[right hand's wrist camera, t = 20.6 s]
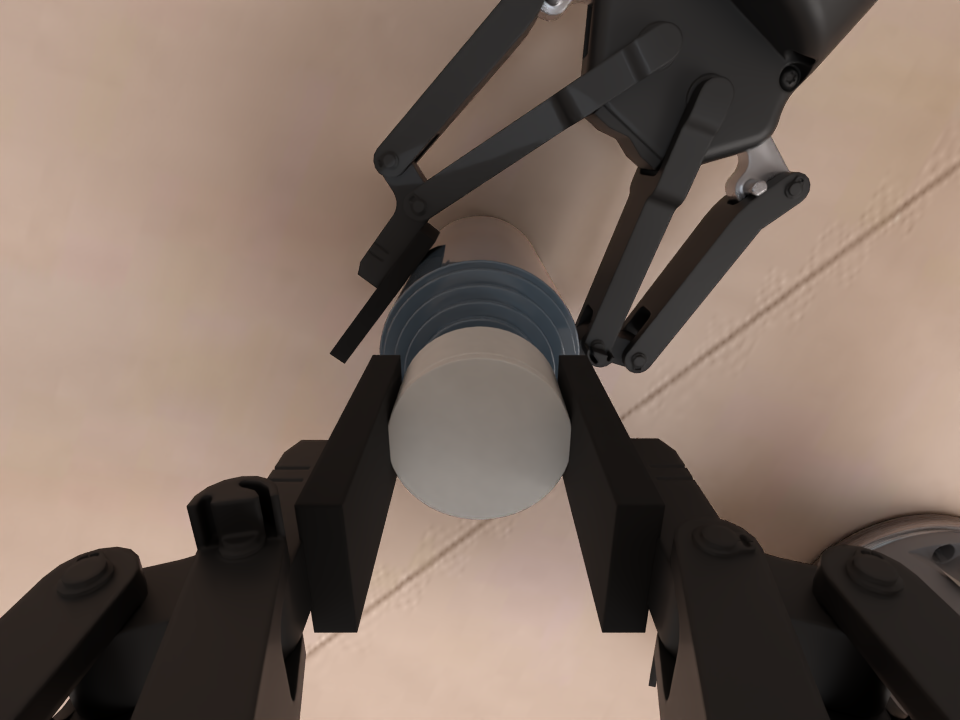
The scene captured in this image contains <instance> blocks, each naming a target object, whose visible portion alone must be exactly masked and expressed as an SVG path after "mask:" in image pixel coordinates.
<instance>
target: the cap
mask: <svg viewBox="0 0 960 720" xmlns="http://www.w3.org/2000/svg"><path fill="white" fill-rule="evenodd" d="M388 431H389V445H390V458H391V463H392V466H393V468H394V470H395V472H396V474H397V476H398V478H399V479H400V481H401V482H402V483H403V485H404V486H405V487H406V488H407V489H408V490H409V491H410V493H411V494H413V495H414V496H415V497H416V498H417V499H419V500H420V501H421V502H423V503H424V504H426V505H427V506H429V507H431V508H433V509H435V510H437V511H439V512H442V513H445V514H447V515H450V516H454V517H459V518H465V519H475V520H485V519H495V518H501V517H506V516H509V515H512V514H515V513H518V512H520V511H522V510H525V509H527V508H529V507H530V506H532V505H534V504H535V503H537V502H538V501H540V500H541V499H542V498H544V497H545V496H546V495H547V494H548V493H549V492H550V491H551V490H552V489H553V488H554V486H555V485H556V484H557V483H558V481H559V480H560V478H561V477H562V475H563V473H564V472H565V469H566V467H567V465H568V462H569V451H570V437H571V422H570V418H569V415H568V412H567V409H566V406H565V403H564V400H563V397H562V394H561V391H560V388H559V385H558V382H557V379H556V376H555V374H554V371H553V369H552V367H551V365H550V364H549V362H548V361H547V359H546V358H545V357H544V355H543V354H542V353H541V352H540V351H539V350H538V349H537V348H536V347H535V346H534V345H532V344H531V343H530V342H528V341H527V340H525V339H524V338H522V337H520V336H518V335H516V334H514V333H511V332H509V331H505V330H502V329H498V328H492V327H481V326H480V327H478V326H477V327H467V328H462V329H457V330H454V331H451V332H448V333H446V334H443V335H442V336H440V337H438V338H436V339H434V340H433V341H431V342H430V343H428V344H427V345H426V346H425V347H424V348H423V349H422V350H420V351H419V353H418V354H417V355H416V356H415V357H414V359H413V360H412V362H411V363H410V365H409V366H408V368H407V370H406V373H405V375H404V378H403V381H402V383H401V386H400V389H399V392H398V395H397V398H396V401H395V404H394V407H393V410H392V413H391V416H390V420H389V424H388Z"/></svg>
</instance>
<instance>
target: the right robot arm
mask: <svg viewBox="0 0 960 720" xmlns="http://www.w3.org/2000/svg"><path fill="white" fill-rule="evenodd" d="M557 382H558V385H559V388H560V391H561V394H562V397H563V400H564V403H565V406H566V409H567V412H568V415H569V418H570V422H571V437H570V451H569V462H568V465H567V467H566V469H565V472H564V473H563V475H562V476H563V480H564V484H565V488H566V492H567V496H568V500H569V503H570V507H571V511H572V515H573V519H574V523H575V527H576V531H577V535H578V539H579V543H580V547H581V551H582V555H583V559H584V563H585V566H586V570H587V574H588V578H589V582H590V586H591V590H592V594H593V598H594V602H595V606H596V610H597V614H598V618H599V622H600V626H601V629H602V633H645V630H646V624H647V617H648V611H649V610H650V613H651V615H652V618H653V621H654V624H655V626H656V629H657V632H658V633H657V638H656V644H655V650H654V656H653V662H652V668H651V674H650V680H649V686H652V687H656V681H657V689H658V699H659V709H660V720H960V615H959V614H958V613H957V612H955V611H954V610H953V609H952V608H951V607H950V606H949V605H948V604H947V603H946V602H945V601H944V600H943V599H942V598H941V597H940V596H939V595H937V594H936V593H935V592H934V591H933V590H932V589H931V588H930V587H929V586H928V585H927V584H926V583H925V582H924V581H923V580H922V579H920V578H919V577H918V576H917V575H916V574H915V573H913V572H912V571H911V570H909V569H908V568H907V567H905V566H904V565H903V564H901V563H900V562H898V561H896V560H894V559H892V558H890V557H888V556H886V555H884V554H882V553H880V552H877V551H874V550H870V549H867V548H864V547H861V546H852V545H837V546H831V547H828V548H827V549H826V550H825V551H824V552H823V553H821V556H820V560H819V563H818V566H815V565H810V564H806V563H801V562H797V561H792V560H788V559H783V558H779V557H775V556H772V555H768V554H765V553H764V552H763V549H762V548H761V546H760V545H759V543H758V542H757V540H756V539H755V538H754V537H753V536H752V535H751V534H749V533H748V532H747V531H745V530H744V529H743V528H741V527H739V526H737V525H735V524H733V523H731V522H728V521H726V520H722V519H720V518H719V517H718V515H717V514H716V512H715V511H714V509H713V508H712V506H711V504H710V503H709V501H708V500H707V498H706V497H705V495H704V494H703V492H702V491H701V489H700V488H699V486H698V485H697V483H696V482H695V480H693V479H692V475H691V474H690V472H689V471H688V469H687V468H685V465H684V463H683V462H682V460H681V459H680V457H679V456H678V454H677V452H676V451H675V450H674V449H672V448H671V447H669V446H668V445H667V444H665V443H664V442H662V441H661V440H660V439H656V438H630V437H629V435H628V433H627V431H626V429H625V427H624V426H623V424H622V422H621V420H620V418H619V416H618V414H617V412H616V410H615V408H614V406H613V405H612V403H611V401H610V399H609V397H608V395H607V393H606V391H605V389H604V387H603V385H602V384H601V382H600V380H599V378H598V376H597V374H596V372H595V370H594V368H593V366H592V364H591V363H590V361H589V359H588V357H587V355H559V363H558V379H557ZM401 383H402V372H401V356H400V355H373V356H372V358H371V360H370V361H369V363H368V365H367V367H366V369H365V371H364V373H363V375H362V377H361V379H360V380H359V382H358V384H357V386H356V388H355V390H354V392H353V394H352V396H351V398H350V400H349V401H348V403H347V405H346V407H345V409H344V411H343V413H342V415H341V417H340V419H339V421H338V422H337V424H336V426H335V428H334V430H333V432H332V434H331V436H330V438H329V440H301V441H300V442H298V443H297V444H295V445H294V446H293V447H291V448H290V449H288V450H287V451H286V452H284V454H283V455H282V457H281V458H280V460H279V461H278V463H277V464H276V466H275V470H273V471H272V472H271V474H270V475H269V477H268V478H267V479H266V478H263V477H259V476H241V477H236V478H232V479H227V480H224V481H221V482H219V483H216V484H214V485H211V486H209V487H207V488H206V489H204V490H203V491H201V492H200V493H199V494H197V495H196V496H194V498H193V499H192V500H191V502H190V503H189V504H188V505H187V510H188V514H189V518H190V522H191V526H192V530H193V534H194V538H195V542H196V546H197V549H198V550H197V552H196V555H195V556H192V557H188V558H185V559H181V560H177V561H173V562H168V563H164V564H159V565H155V566H150V567H146V568H142V565H141V562H140V559H139V556H138V555H137V554H136V553H135V552H133V551H132V550H131V549H127V548H121V547H111V548H102V549H97V550H94V551H90V552H87V553H84V554H81V555H79V556H77V557H75V558H73V559H71V560H69V561H67V562H65V563H63V564H61V565H59V566H58V567H56V568H55V569H54V570H53V571H51V572H50V573H49V574H47V575H46V576H45V577H43V578H42V579H41V580H40V581H39V582H38V583H37V584H36V585H35V586H34V587H33V588H32V589H31V590H30V591H29V592H27V593H26V594H25V595H24V596H23V597H22V598H21V599H20V600H19V601H18V602H17V603H16V604H15V605H14V606H13V607H12V608H11V609H10V610H9V611H7V612H6V613H5V614H4V615H3V616H2V617H1V618H0V720H300V711H301V700H302V690H303V680H304V669H305V659H306V651H305V645H304V638H303V630H304V627H305V625H306V622H307V619H308V616H309V614H310V611H311V615H312V621H313V627H314V633H352V632H357V631H358V627H359V623H360V619H361V615H362V611H363V607H364V604H365V600H366V596H367V592H368V588H369V584H370V580H371V576H372V572H373V568H374V564H375V560H376V556H377V552H378V548H379V545H380V541H381V537H382V533H383V529H384V525H385V521H386V517H387V513H388V509H389V505H390V501H391V497H392V493H393V489H394V486H395V482H396V478H397V474H396V472H395V470H394V468H393V466H392V463H391V458H390V445H389V431H388V424H389V420H390V416H391V413H392V410H393V407H394V404H395V401H396V398H397V395H398V392H399V389H400V386H401ZM891 693H892V695H893V696H894V697H895V699H896V700H897V701H898V702H899V704H900V705H901V706H902V707H903V709H904V710H905V711H906V713H907V714H908V715H906V714H905V713H904V712H903V711H902V710H901V709H900V708H899V707H898V706H897V704H896V703H895V702H894V700H893V699H892V698H891V697H890V695H891ZM68 696H69V697H70V699H69V700H68V701H67V703H66V704H65V705H64V707H63V708H62V709H61V710H60V711H59V712H58V713H57V714H56V715H55V716H54V714H55V713H56V712H57V710H58V709H59V708H60V707H61V705H62V704H63V703H64V701H65V700H66V699H67V698H68ZM53 716H54V717H53ZM52 717H53V718H52Z"/></svg>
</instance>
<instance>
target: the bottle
mask: <svg viewBox="0 0 960 720" xmlns="http://www.w3.org/2000/svg"><path fill="white" fill-rule="evenodd" d="M439 232H440V234H439V236H438V238H437V240H436V242H435V243H434V245H433V246H432V247H431V249H430V250H429V251H428V253H427V254H426V255H425V257H424V258H423V259H422V261H421V262H420V263H419V265H418V266H417V267H416V269H415V270H414V271H413V273H412V274H411V275H410V277H409V279H408V281H407V282H406V284H405V286H404V288H403V289H402V291H401V293H400V295H399V297H398V298H397V300H396V302H395V304H394V305H393V307H392V309H391V311H390V313H389V315H388V317H387V319H386V322H385V324H384V328H383V331H382V335H381V342H380V355H400V356H401V372H402V381H403V378H404V375H405V373H406V370H407V368H408V366H409V365H410V363H411V362H412V360H413V359H414V357H415V356H416V355H417V354H418V353H419V351H420V350H422V349H423V348H424V347H425V346H426V345H427V344H428V343H430V342H431V341H433V340H434V339H436V338H438V337H440V336H442V335H443V334H446V333H448V332H451V331H454V330H457V329H462V328H467V327H477V326H478V327H480V326H481V327H492V328H498V329H502V330H505V331H509V332H511V333H514V334H516V335H518V336H520V337H522V338H524V339H525V340H527V341H528V342H530V343H531V344H532V345H534V346H535V347H536V348H537V349H538V350H539V351H540V352H541V353H542V354H543V355H544V357H545V358H546V359H547V361H548V362H549V364H550V365H551V367H552V369H553V371H554V374H555V376H556V379H558V363H559V355H580V345H579V338H578V333H577V329H576V326H575V323H574V320H573V318H572V316H571V314H570V312H569V310H568V308H567V306H566V304H565V303H564V301H563V299H562V297H561V296H560V294H559V292H558V290H557V288H556V287H555V285H554V283H553V281H552V280H551V278H550V276H549V274H548V272H547V271H546V269H545V267H544V265H543V264H542V262H541V260H540V258H539V256H538V255H537V253H536V251H535V249H534V248H533V246H532V244H531V243H530V241H529V240H528V239H527V237H526V236H525V235H524V234H523V233H522V232H521V231H520V230H519V229H517V228H516V227H515V226H513V225H512V224H510V223H508V222H506V221H504V220H501V219H498V218H495V217H490V216H470V217H465V218H461V219H459V220H456V221H454V222H452V223H450V224H448V225H446V226H445V227H444V228H442V229H441V230H440V231H439Z"/></svg>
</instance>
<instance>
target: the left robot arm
mask: <svg viewBox="0 0 960 720" xmlns="http://www.w3.org/2000/svg"><path fill="white" fill-rule="evenodd" d="M877 1H878V0H501V1H500V2H499V4H498V5H497V6H496V7H495V8H494V10H493V11H492V12H491V13H490V14H489V16H488V17H487V18H486V19H485V20H484V22H483V23H482V24H481V25H480V26H479V28H478V29H477V30H476V31H475V32H474V34H473V35H472V36H471V37H470V38H469V40H468V41H467V42H466V43H465V44H464V46H463V47H462V48H461V49H460V50H459V51H458V53H457V54H456V55H455V56H454V57H453V59H452V60H451V61H450V62H449V63H448V65H447V66H446V67H445V68H444V69H443V71H442V72H441V73H440V74H439V75H438V77H437V78H436V79H435V80H434V81H433V83H432V84H431V85H430V86H429V87H428V89H427V90H426V91H425V92H424V93H423V95H422V96H421V97H420V98H419V99H418V101H417V102H416V103H415V104H414V105H413V106H412V108H411V109H410V110H409V111H408V112H407V114H406V115H405V116H404V117H403V118H402V120H401V121H400V122H399V123H398V124H397V126H396V127H395V128H394V129H393V130H392V132H391V133H390V134H389V135H388V136H387V138H386V139H385V140H384V141H383V142H382V144H381V145H380V146H379V147H378V148H377V150H376V152H375V154H374V165H375V168H376V169H377V171H378V172H379V173H380V174H381V175H383V177H384V178H385V180H386V181H387V183H388V184H389V186H390V187H391V189H392V190H393V192H394V194H395V197H396V201H397V206H396V210H395V213H394V215H393V216H392V218H391V219H390V221H389V222H388V223H387V225H386V226H385V228H384V229H383V230H382V232H381V233H380V235H379V236H378V238H377V239H376V240H375V242H374V243H373V245H372V246H371V247H370V249H369V250H368V252H367V253H366V255H365V256H364V257H363V259H362V260H361V262H360V266H359V271H358V275H360V276H361V277H362V278H364V279H365V280H366V281H368V282H369V283H370V284H372V285H373V286H375V287H376V288H377V289H376V291H375V292H374V293H373V295H372V296H371V297H370V299H369V300H368V302H367V303H366V304H365V306H364V307H363V308H362V310H361V311H360V313H359V314H358V315H357V317H356V318H355V319H354V321H353V322H352V323H351V325H350V326H349V328H348V329H347V330H346V332H345V333H344V334H343V336H342V337H341V339H340V340H339V341H338V343H337V344H336V345H335V347H334V348H333V350H332V351H331V352H330V354H331V355H332V356H334V357H335V358H337V359H338V360H340V361H341V362H343V363H344V364H345V362H346V361H347V360H348V358H349V357H350V356H351V354H352V353H353V352H354V350H355V349H356V348H357V346H358V345H359V344H360V342H361V341H362V340H363V338H364V337H365V336H366V334H367V333H368V332H369V330H370V329H371V328H372V326H373V325H374V324H375V322H376V321H377V320H378V318H379V317H380V316H381V314H382V313H383V312H384V310H385V309H386V308H387V306H388V305H389V304H390V302H391V301H392V300H393V298H394V297H395V296H396V294H397V293H398V292H399V290H400V289H401V288H402V286H403V285H404V284H405V282H406V281H407V279H408V278H409V277H410V275H411V274H412V273H413V271H414V270H415V269H416V267H417V266H418V265H419V263H420V262H421V261H422V259H423V258H424V257H425V255H426V254H427V253H428V251H429V250H430V249H431V247H432V246H433V245H434V243H435V242H436V240H437V238H438V236H439V234H440V232H439V231H438V230H437V229H435V228H434V227H433V226H432V225H430V224H429V223H428V220H429V219H430V218H431V217H433V216H434V215H436V214H437V213H439V212H440V211H442V210H443V209H445V208H446V207H448V206H450V205H451V204H453V203H454V202H456V201H457V200H459V199H460V198H462V197H463V196H465V195H466V194H468V193H469V192H471V191H472V190H474V189H475V188H477V187H478V186H480V185H481V184H483V183H484V182H486V181H488V180H489V179H491V178H492V177H494V176H495V175H497V174H498V173H500V172H501V171H503V170H504V169H506V168H507V167H509V166H510V165H512V164H513V163H515V162H516V161H518V160H519V159H521V158H522V157H524V156H526V155H527V154H529V153H530V152H532V151H533V150H535V149H536V148H538V147H539V146H541V145H542V144H544V143H545V142H547V141H548V140H550V139H551V138H553V137H554V136H556V135H557V134H559V133H560V132H562V131H564V130H565V129H567V128H568V127H570V126H572V125H573V124H575V123H577V122H578V121H580V120H581V119H583V118H586V119H587V120H588V121H589V122H590V123H591V124H592V125H593V126H594V127H595V128H596V129H598V130H599V131H601V132H603V133H605V134H607V135H609V136H611V137H614V138H615V139H616V140H617V141H618V143H619V145H620V146H621V148H622V150H623V151H624V153H625V155H626V156H627V157H628V158H629V159H630V160H631V161H632V162H633V163H634V164H636V165H637V166H638V168H637V170H636V172H635V175H634V177H633V180H632V182H631V186H630V194H629V197H628V200H627V202H626V205H625V207H624V209H623V212H622V214H621V217H620V219H619V221H618V224H617V226H616V229H615V231H614V233H613V236H612V238H611V240H610V243H609V245H608V248H607V250H606V252H605V255H604V257H603V260H602V262H601V264H600V267H599V269H598V271H597V274H596V276H595V279H594V281H593V283H592V286H591V288H590V291H589V293H588V295H587V298H586V300H585V302H584V305H583V307H582V310H581V312H580V314H579V317H578V319H577V322H576V324H575V326H576V329H577V333H578V338H579V345H580V355H587V357H588V359H589V361H590V363H591V364H592V365H593V366H595V367H604V366H607V365H609V364H610V363H615V364H618V365H621V366H624V367H626V368H627V369H628V370H629V371H630V372H633V373H641V372H644V371H646V370H647V369H648V368H649V367H650V366H651V365H652V364H653V362H654V361H655V360H656V359H657V357H658V356H659V355H660V354H661V352H662V351H663V350H664V349H665V347H666V346H667V345H668V344H669V343H670V341H671V340H672V339H673V338H674V336H675V335H676V334H677V333H678V331H679V330H680V329H681V328H682V327H683V325H684V324H685V323H686V322H687V320H688V319H689V318H690V317H691V315H692V314H693V313H694V312H695V310H696V309H697V308H698V307H699V306H700V304H701V303H702V302H703V301H704V299H705V298H706V297H707V296H708V294H709V293H710V292H711V291H712V289H713V288H714V287H715V286H716V285H717V283H718V282H719V281H720V280H721V278H722V277H723V276H724V275H725V273H726V272H727V271H728V270H729V268H730V267H731V266H732V265H733V264H734V262H735V261H736V260H737V259H738V257H739V256H740V255H741V254H742V252H743V251H744V250H745V249H746V248H747V246H748V245H749V244H750V243H751V241H752V240H753V239H754V238H755V236H756V235H757V234H758V233H759V231H760V230H761V229H763V228H764V227H765V226H767V225H768V224H770V223H771V222H773V221H774V220H776V219H777V218H779V217H780V216H781V215H783V214H784V213H786V212H787V211H789V210H790V209H792V208H793V207H795V206H796V205H797V204H799V203H800V202H802V201H803V200H804V199H805V198H806V196H807V194H808V193H809V190H810V181H809V178H808V177H807V176H806V175H805V174H803V173H800V172H790V171H789V170H788V168H787V166H786V164H785V162H784V160H783V159H782V157H781V155H780V153H779V151H778V149H777V147H776V145H775V143H774V141H773V139H772V138H771V135H772V134H773V132H774V131H775V129H776V127H777V125H778V122H779V119H780V115H781V113H782V110H783V108H784V106H785V104H786V102H787V100H788V99H789V97H790V95H791V94H792V93H793V92H794V91H795V89H796V88H797V87H798V86H799V85H800V84H801V83H802V82H803V81H804V80H805V79H806V78H807V77H808V76H809V75H810V74H811V73H812V72H813V71H814V70H815V69H816V68H817V67H818V66H819V65H820V64H821V63H822V61H823V60H824V59H825V58H826V57H827V56H828V55H829V54H830V53H831V51H832V50H833V49H834V48H835V47H836V46H837V45H838V44H839V43H840V42H841V40H842V39H843V38H844V37H845V36H846V35H847V34H848V33H849V32H850V30H851V29H852V28H853V27H854V26H855V25H856V24H857V23H858V22H859V20H860V19H861V18H862V17H863V16H864V15H865V14H866V13H867V12H868V11H869V9H870V8H871V7H872V6H873V5H874V4H875V3H876V2H877ZM578 2H582V3H585V4H587V5H588V9H587V19H586V30H585V40H584V50H583V60H582V70H581V77H579V78H578V79H576V80H575V81H573V82H572V83H571V84H569V85H568V86H566V87H565V88H563V89H562V90H560V91H559V92H557V93H556V94H554V95H553V96H552V97H550V98H549V99H547V100H546V101H544V102H543V103H541V104H540V105H538V106H537V107H535V108H534V109H532V110H531V111H529V112H528V113H526V114H525V115H523V116H522V117H520V118H519V119H518V120H516V121H515V122H513V123H512V124H510V125H509V126H507V127H506V128H504V129H503V130H501V131H500V132H498V133H497V134H495V135H494V136H492V137H491V138H489V139H488V140H486V141H485V142H483V143H482V144H481V145H479V146H478V147H476V148H475V149H473V150H472V151H470V152H469V153H467V154H466V155H464V156H463V157H461V158H460V159H458V160H457V161H455V162H454V163H452V164H451V165H449V166H448V167H446V168H445V169H444V170H442V171H441V172H439V173H438V174H436V175H435V176H433V177H432V178H430V179H429V180H427V179H426V178H425V176H424V174H423V173H422V171H421V170H420V168H419V166H418V165H417V162H418V161H419V160H420V159H421V157H422V156H423V155H424V154H425V153H426V152H427V150H428V149H429V148H430V147H431V146H432V145H433V144H434V142H435V141H436V140H437V139H438V138H439V137H440V136H441V134H442V133H443V132H444V131H445V130H446V129H447V127H448V126H449V125H450V124H451V123H452V122H453V121H454V119H455V118H456V117H457V116H458V115H459V114H460V113H461V111H462V110H463V109H464V108H465V107H466V106H467V105H468V103H469V102H470V101H471V100H472V99H473V98H474V96H475V95H476V94H477V93H478V92H479V91H480V90H481V88H482V87H483V86H484V85H485V84H486V83H487V82H488V80H489V79H490V78H491V77H492V76H493V75H494V74H495V72H496V71H497V70H498V69H499V68H500V67H501V65H502V64H503V63H504V62H505V61H506V60H507V59H508V57H509V56H510V55H511V54H512V53H513V52H514V51H515V49H516V48H517V47H518V46H519V45H520V44H521V42H522V41H523V40H524V38H525V37H526V36H527V35H528V33H529V31H530V30H531V28H532V27H533V25H534V23H535V21H536V19H537V17H539V18H541V19H543V20H546V21H554V20H556V19H558V18H559V17H561V16H562V14H563V13H564V12H565V10H566V9H567V8H568V7H569V6H570V5H572V4H574V3H578ZM736 154H737V156H738V165H737V168H736V170H735V172H734V173H733V174H732V175H731V176H730V177H729V178H728V180H727V182H726V185H725V192H726V194H727V195H725V196H724V197H723V198H722V199H720V200H719V201H718V202H717V203H716V204H715V205H714V206H713V207H712V208H711V209H710V211H709V212H708V213H707V214H706V215H705V217H704V218H703V219H702V220H701V222H700V223H699V224H698V226H697V227H696V228H695V230H694V231H693V232H692V234H691V235H690V236H689V238H688V239H687V240H686V241H685V243H684V244H683V245H682V247H681V248H680V249H679V251H678V252H677V253H676V255H675V256H674V257H673V258H672V260H671V261H670V262H669V264H668V265H667V266H666V268H665V269H664V270H663V272H662V273H661V274H660V275H659V277H658V278H657V279H656V281H655V282H654V283H653V285H652V286H651V287H650V289H649V290H648V291H647V292H646V294H645V295H644V296H643V298H642V299H641V300H640V302H639V303H638V304H637V306H636V307H635V308H634V309H633V311H632V312H631V313H630V315H629V316H628V317H627V319H626V316H627V314H628V312H629V310H630V308H631V305H632V303H633V301H634V299H635V297H636V294H637V292H638V290H639V288H640V286H641V283H642V281H643V279H644V277H645V275H646V272H647V270H648V268H649V266H650V264H651V261H652V259H653V257H654V255H655V253H656V250H657V248H658V246H659V244H660V242H661V239H662V237H663V235H664V233H665V231H666V228H667V226H668V224H669V222H670V220H671V217H672V215H673V213H674V211H675V210H676V208H677V207H679V206H680V205H681V204H682V203H683V201H684V200H685V198H686V196H687V194H688V192H689V190H690V187H691V185H692V183H693V181H694V179H695V177H696V174H697V172H698V170H699V168H700V166H701V165H702V164H705V163H708V162H712V161H715V160H719V159H722V158H726V157H729V156H733V155H736ZM625 319H626V320H625ZM837 545H852V546H861V547H864V548H867V549H870V550H874V551H877V552H880V553H882V554H884V555H886V556H888V557H890V558H892V559H894V560H896V561H898V562H900V563H901V564H903V565H904V566H905V567H907V568H908V569H909V570H911V571H912V572H913V573H915V574H916V575H917V576H918V577H919V578H920V579H922V580H923V581H924V582H925V583H926V584H927V585H928V586H929V587H930V588H931V589H932V590H933V591H934V592H935V593H936V594H937V595H939V596H940V597H941V598H942V599H943V600H944V601H945V602H946V603H947V604H948V605H949V606H950V607H951V608H952V609H953V610H954V611H955V612H957V613H958V614H959V615H960V518H959V517H954V516H948V515H937V514H924V515H912V516H905V517H900V518H895V519H891V520H887V521H884V522H880V523H878V524H875V525H872V526H869V527H867V528H865V529H862V530H860V531H858V532H856V533H854V534H852V535H850V536H848V537H847V538H845V539H843V540H842V541H840V542H838V543H837V544H836V545H834V546H837ZM819 560H820V557H819V558H818V559H817V560H816V561H815V562H814V563H813V564H812V565H815V566H818V563H819ZM890 697H891V698H892V699H893V700H894V702H895V703H896V704H897V706H898V707H899V708H900V709H901V710H902V711H903V712H904V713H905V714H906V715H908V714H907V713H906V711H905V710H904V709H903V707H902V706H901V705H900V704H899V702H898V701H897V700H896V699H895V697H894V696H893V695H892V693H891V695H890Z"/></svg>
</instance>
